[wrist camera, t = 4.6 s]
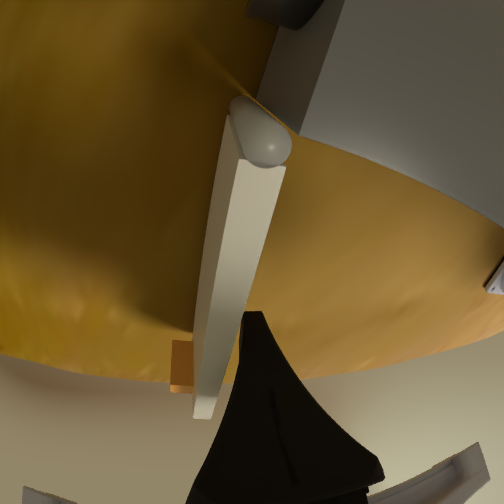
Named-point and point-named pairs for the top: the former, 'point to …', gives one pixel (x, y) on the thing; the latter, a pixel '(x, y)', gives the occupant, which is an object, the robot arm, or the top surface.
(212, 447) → the robot arm
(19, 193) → the top surface
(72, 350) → the top surface
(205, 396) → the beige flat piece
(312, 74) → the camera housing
